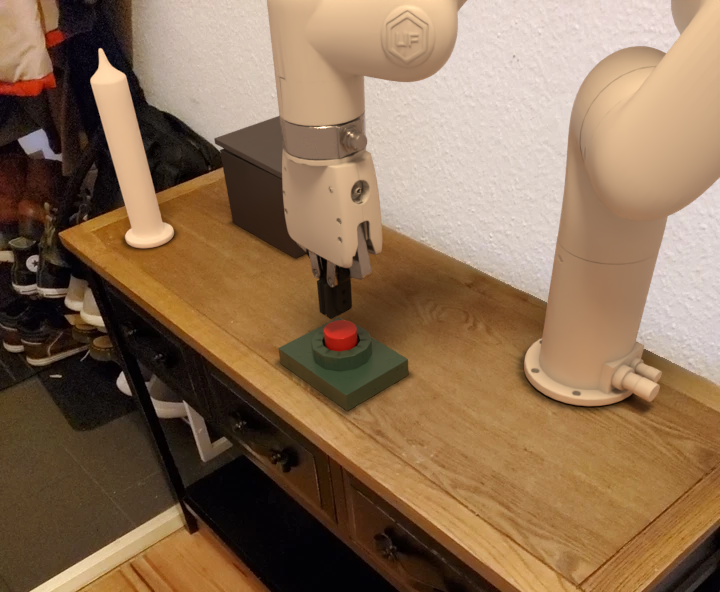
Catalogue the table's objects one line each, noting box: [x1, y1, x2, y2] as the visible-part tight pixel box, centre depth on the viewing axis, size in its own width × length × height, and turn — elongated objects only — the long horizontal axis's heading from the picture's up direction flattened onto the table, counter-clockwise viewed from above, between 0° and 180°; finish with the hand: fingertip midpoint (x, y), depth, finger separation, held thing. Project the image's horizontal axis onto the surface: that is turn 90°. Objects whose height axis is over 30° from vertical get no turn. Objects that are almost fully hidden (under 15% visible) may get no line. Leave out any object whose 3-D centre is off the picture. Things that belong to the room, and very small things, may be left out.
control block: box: [277, 316, 409, 412], centre depth 83 cm, size 12×9×4 cm
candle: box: [89, 47, 175, 249], centre depth 101 cm, size 7×7×25 cm
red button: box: [324, 319, 357, 352], centre depth 81 cm, size 4×4×2 cm
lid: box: [214, 115, 283, 179], centre depth 102 cm, size 17×12×1 cm
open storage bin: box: [219, 148, 307, 259], centre depth 106 cm, size 16×12×11 cm
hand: (336, 311), depth 79 cm, fingers closed
